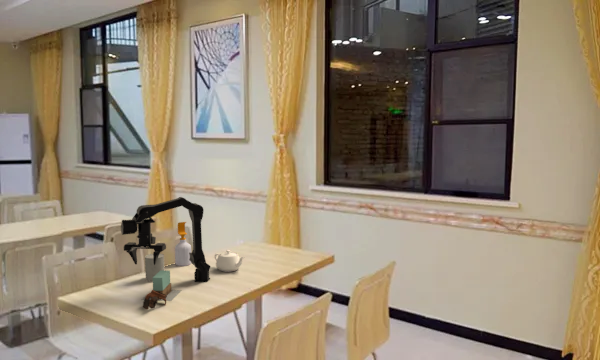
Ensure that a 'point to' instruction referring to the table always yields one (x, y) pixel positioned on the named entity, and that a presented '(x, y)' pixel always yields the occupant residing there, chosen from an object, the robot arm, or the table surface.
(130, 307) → the table surface
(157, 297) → the brown wooden block
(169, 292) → the post
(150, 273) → the speckled grey cylinder
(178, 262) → the soap bottle
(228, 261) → the teapot
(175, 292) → the build mat
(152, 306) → the brown curved piece
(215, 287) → the table surface
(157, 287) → the lintel
